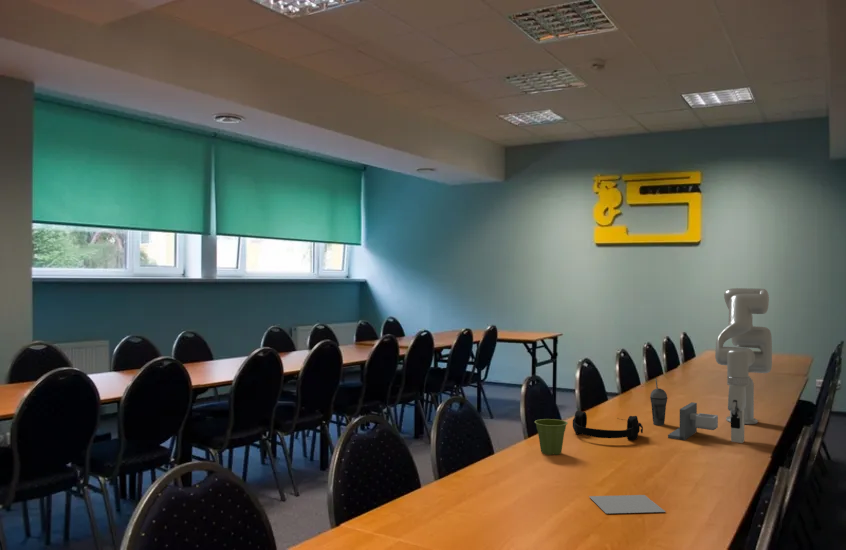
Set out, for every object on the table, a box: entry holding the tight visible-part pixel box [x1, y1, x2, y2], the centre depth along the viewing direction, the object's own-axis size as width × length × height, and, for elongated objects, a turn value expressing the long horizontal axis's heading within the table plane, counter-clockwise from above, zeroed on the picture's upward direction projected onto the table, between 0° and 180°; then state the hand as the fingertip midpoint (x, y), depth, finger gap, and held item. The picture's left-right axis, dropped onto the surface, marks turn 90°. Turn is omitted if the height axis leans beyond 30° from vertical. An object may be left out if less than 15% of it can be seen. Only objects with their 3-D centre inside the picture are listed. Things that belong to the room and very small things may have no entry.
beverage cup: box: [649, 378, 669, 426], centre depth 289 cm, size 7×7×20 cm
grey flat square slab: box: [588, 494, 666, 514], centre depth 190 cm, size 23×25×1 cm
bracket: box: [667, 402, 719, 441], centre depth 266 cm, size 18×16×12 cm
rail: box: [730, 409, 745, 444], centre depth 259 cm, size 4×4×14 cm
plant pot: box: [534, 418, 568, 456], centre depth 241 cm, size 12×12×11 cm
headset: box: [572, 410, 644, 441], centre depth 267 cm, size 28×26×9 cm
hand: (737, 425), depth 259 cm, fingers open, 8 cm apart
